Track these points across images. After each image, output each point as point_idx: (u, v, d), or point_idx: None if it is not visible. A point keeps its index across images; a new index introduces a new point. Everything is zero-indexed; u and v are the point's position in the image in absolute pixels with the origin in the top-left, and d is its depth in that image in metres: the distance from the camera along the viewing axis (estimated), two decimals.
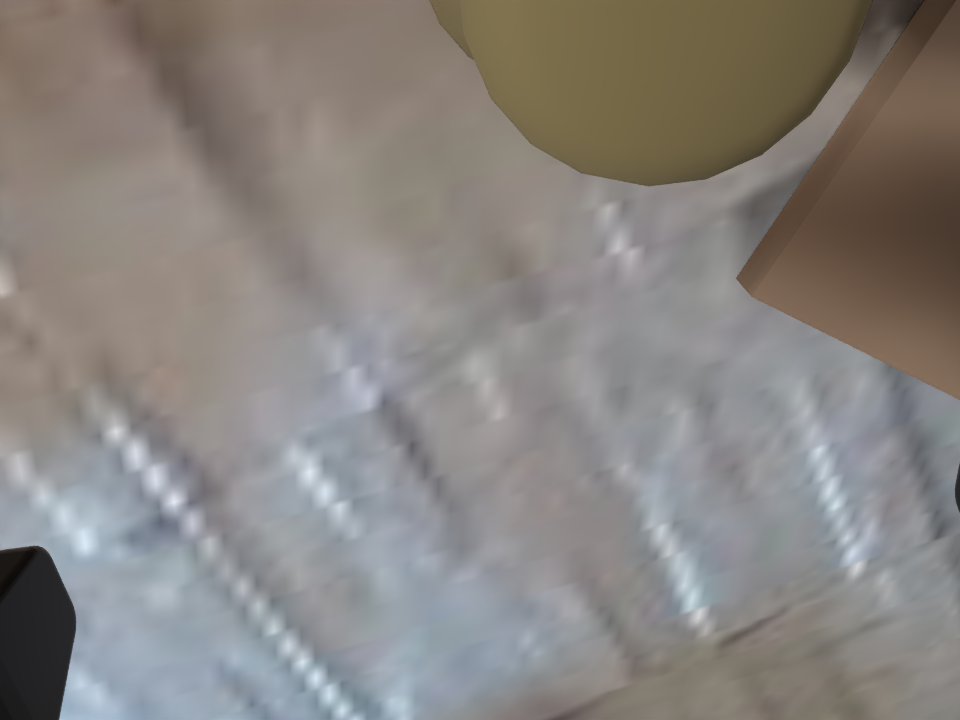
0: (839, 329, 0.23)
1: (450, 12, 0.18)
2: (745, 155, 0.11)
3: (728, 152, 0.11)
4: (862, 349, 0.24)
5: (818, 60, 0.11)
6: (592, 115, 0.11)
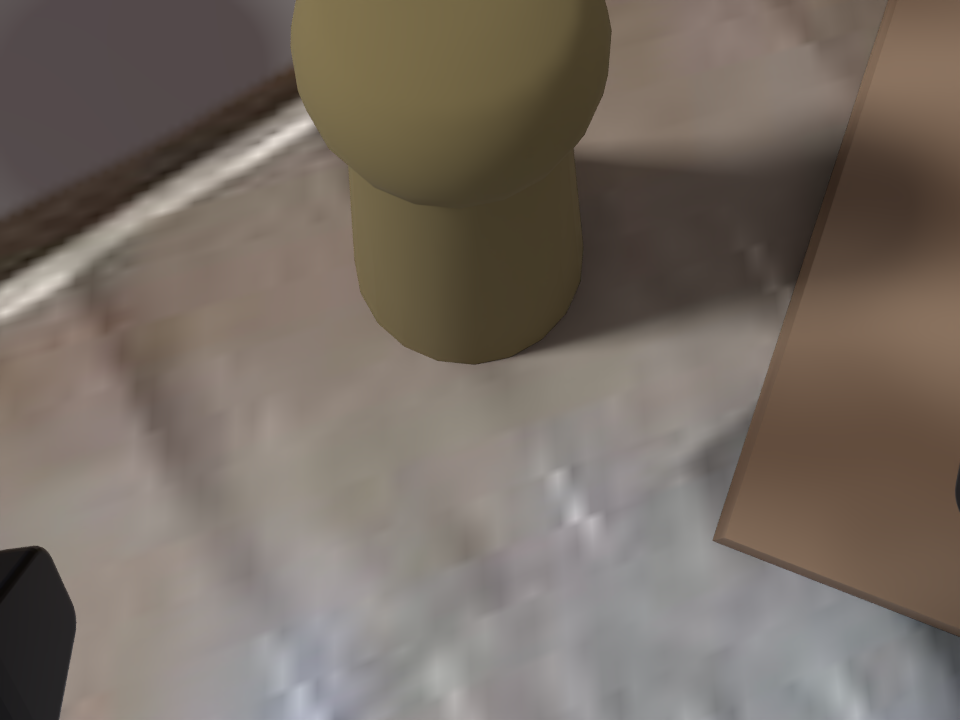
0: (840, 570, 0.20)
1: (367, 268, 0.21)
2: (525, 110, 0.13)
3: (506, 102, 0.13)
4: (877, 594, 0.20)
5: (559, 23, 0.13)
6: (380, 77, 0.13)
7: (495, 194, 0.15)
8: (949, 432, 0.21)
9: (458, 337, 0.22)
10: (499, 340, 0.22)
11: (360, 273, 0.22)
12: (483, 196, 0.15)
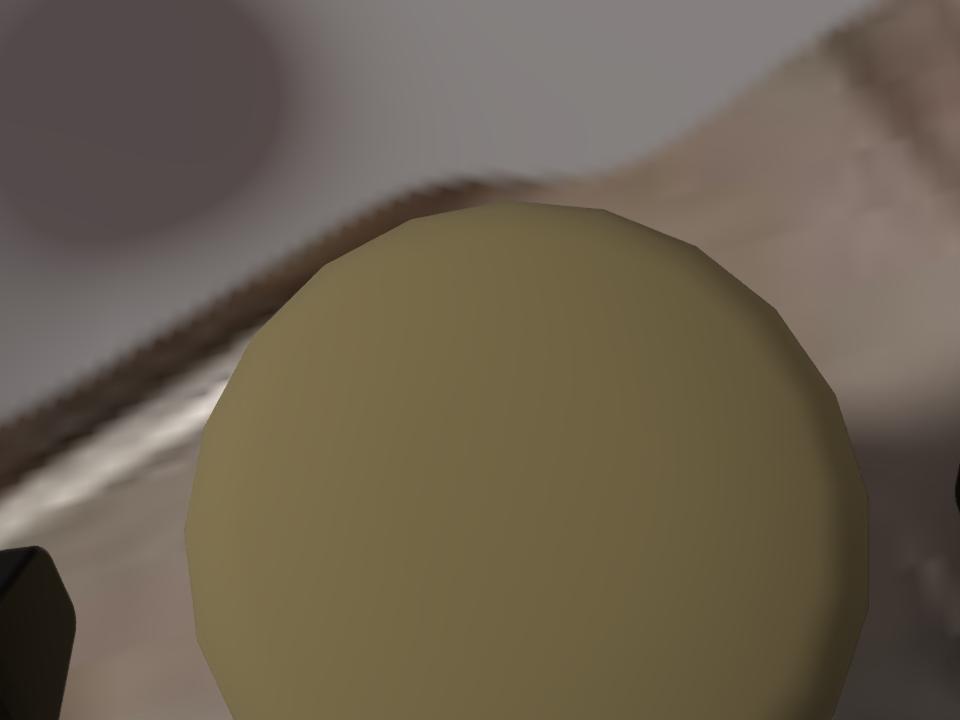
0: None
1: None
2: None
3: None
4: None
5: (793, 601, 0.06)
6: None
7: None
8: None
9: None
10: None
11: None
12: None
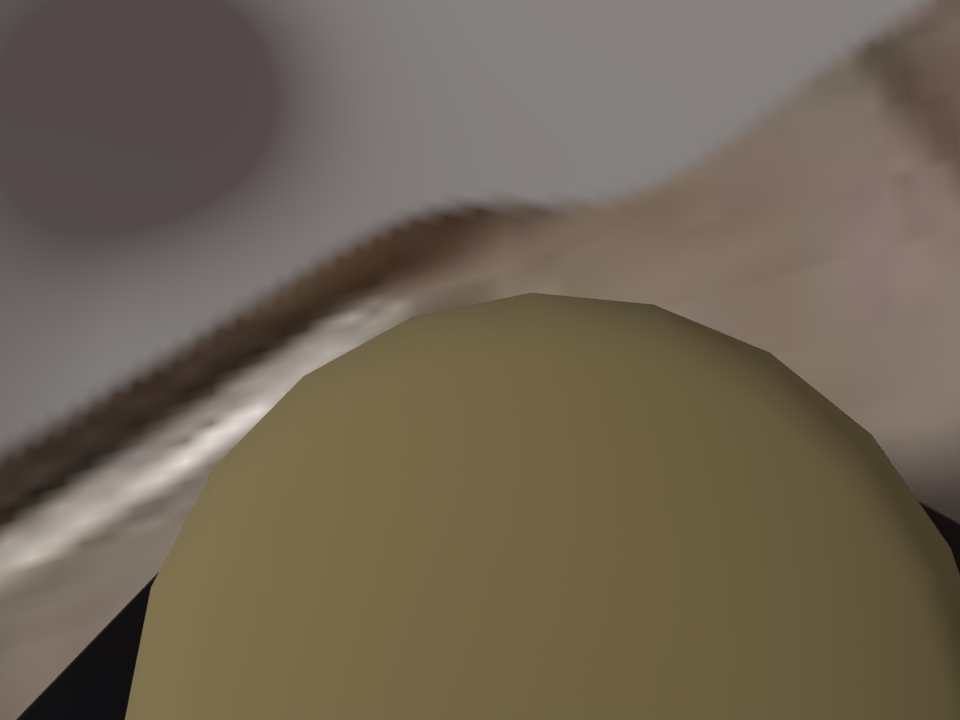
0: None
1: None
2: None
3: None
4: None
5: None
6: None
7: None
8: None
9: None
10: None
11: None
12: None
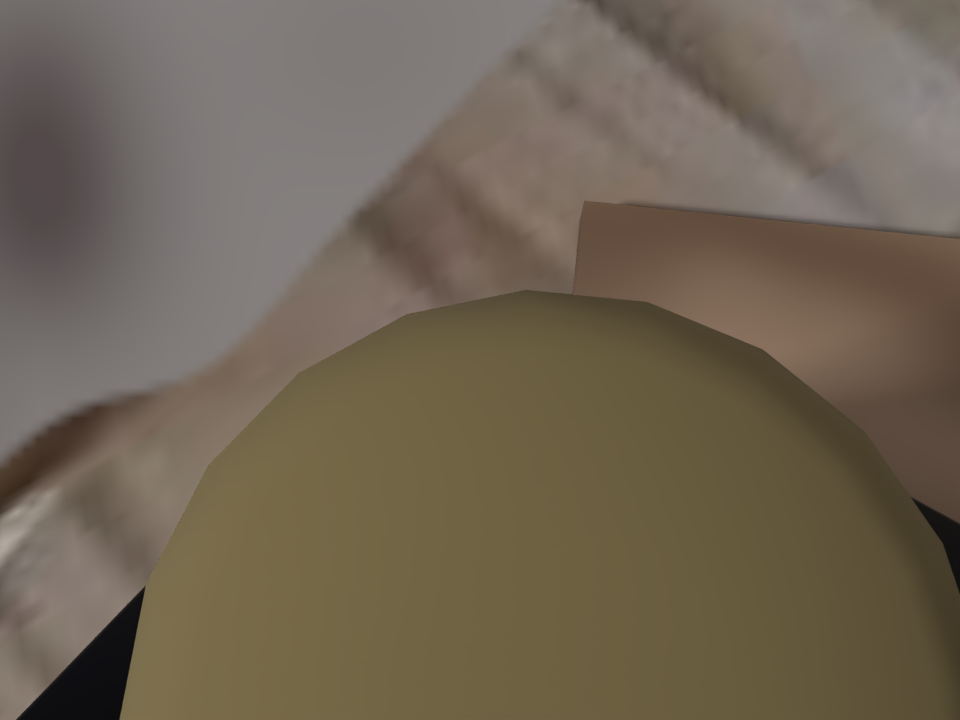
0: None
1: None
2: None
3: None
4: None
5: None
6: None
7: None
8: None
9: None
10: None
11: None
12: None
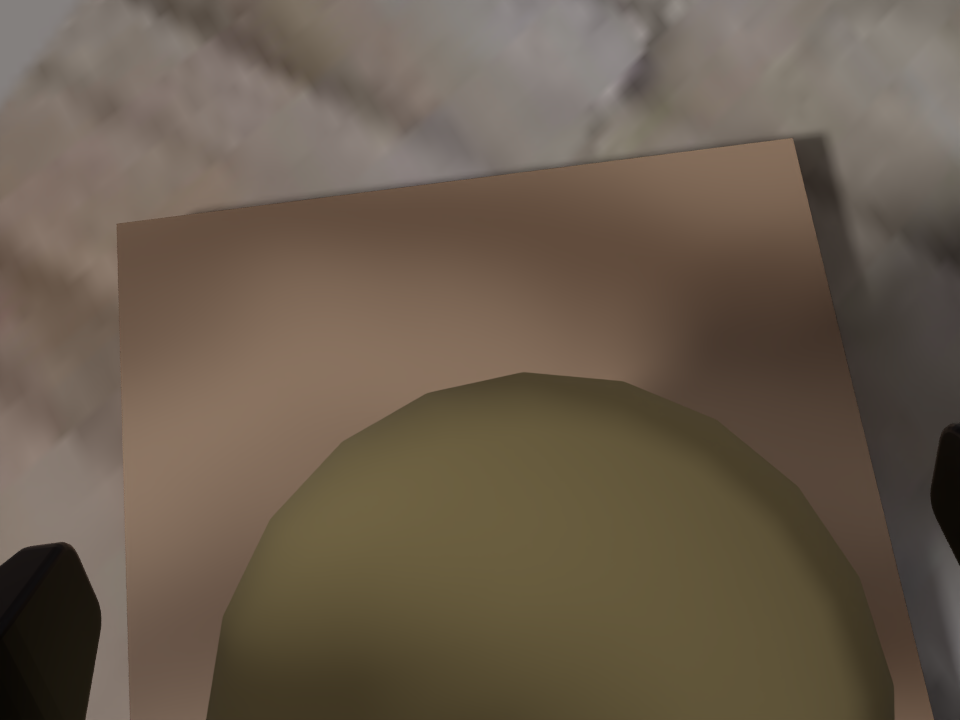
0: None
1: None
2: None
3: None
4: None
5: None
6: None
7: None
8: None
9: None
10: None
11: None
12: None
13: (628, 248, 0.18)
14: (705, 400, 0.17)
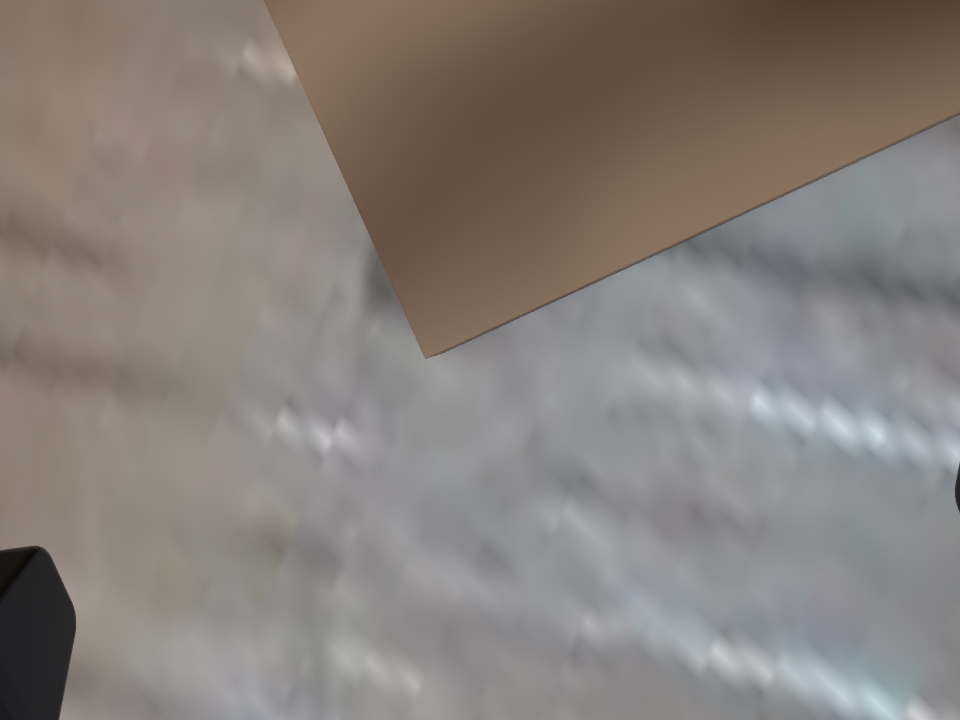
0: (540, 290, 0.17)
1: None
2: None
3: None
4: (589, 279, 0.17)
5: None
6: None
7: None
8: (525, 61, 0.17)
9: None
10: None
11: None
12: None
13: None
14: None
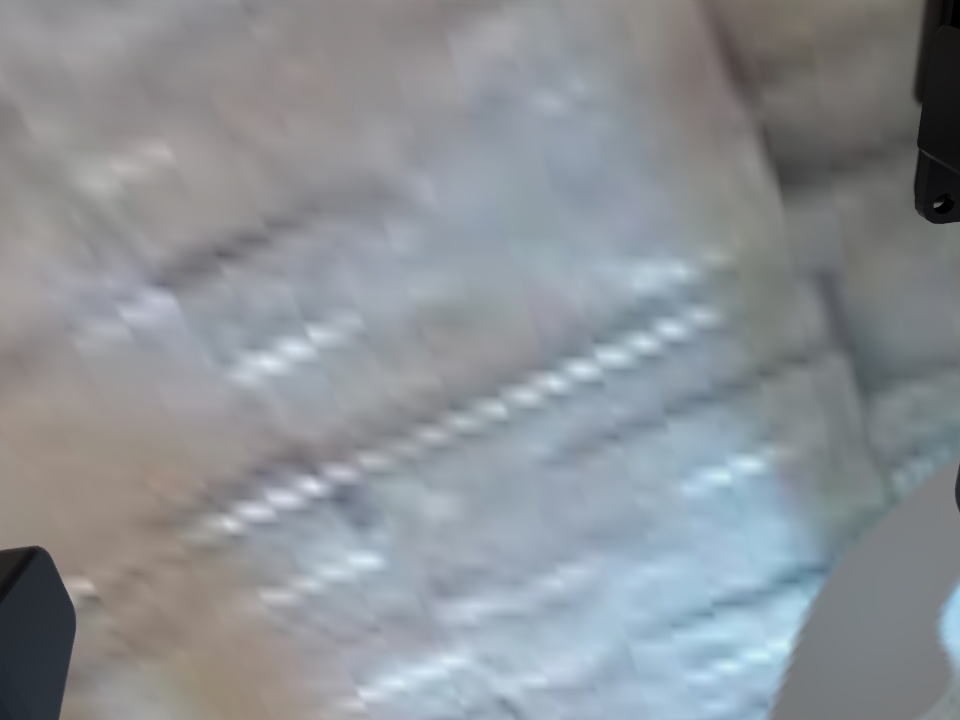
0: None
1: None
2: None
3: None
4: None
5: None
6: None
7: None
8: None
9: None
10: None
11: None
12: None
13: None
14: None
